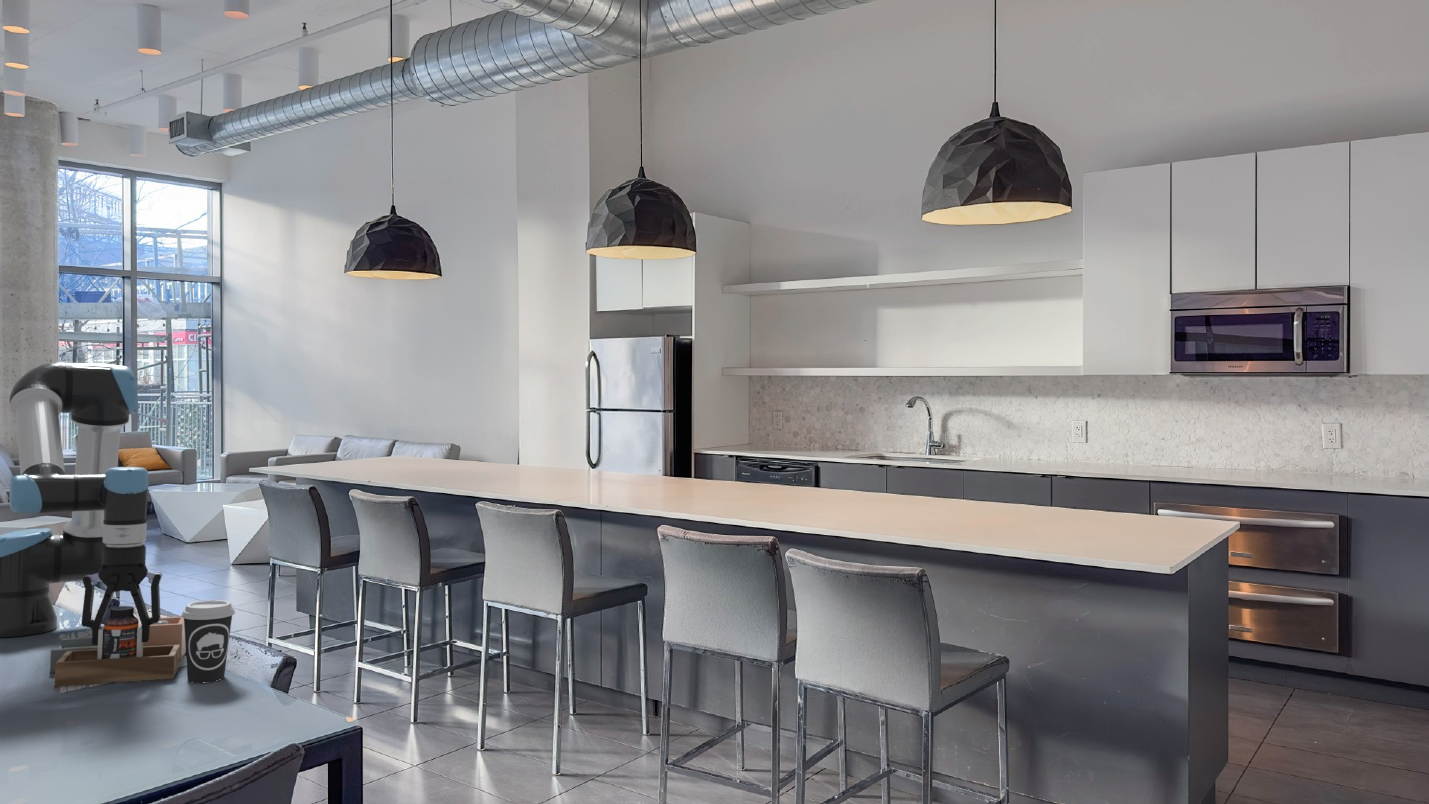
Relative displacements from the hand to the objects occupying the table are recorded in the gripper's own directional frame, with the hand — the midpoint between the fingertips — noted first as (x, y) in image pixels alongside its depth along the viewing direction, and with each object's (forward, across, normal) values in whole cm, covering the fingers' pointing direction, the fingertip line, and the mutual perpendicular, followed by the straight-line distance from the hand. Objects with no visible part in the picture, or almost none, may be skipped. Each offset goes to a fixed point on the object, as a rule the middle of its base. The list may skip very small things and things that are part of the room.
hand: (120, 659), depth 193 cm
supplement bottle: (+1, 0, 0) cm, 1 cm away
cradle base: (+3, -8, +11) cm, 14 cm away
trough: (+3, 0, 0) cm, 3 cm away
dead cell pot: (+3, +6, +12) cm, 14 cm away
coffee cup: (+3, +16, -7) cm, 18 cm away
